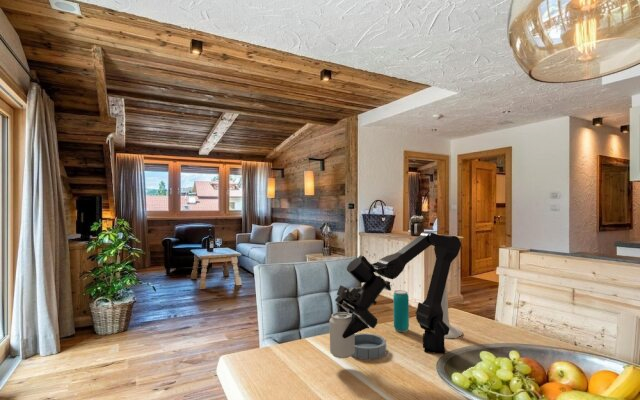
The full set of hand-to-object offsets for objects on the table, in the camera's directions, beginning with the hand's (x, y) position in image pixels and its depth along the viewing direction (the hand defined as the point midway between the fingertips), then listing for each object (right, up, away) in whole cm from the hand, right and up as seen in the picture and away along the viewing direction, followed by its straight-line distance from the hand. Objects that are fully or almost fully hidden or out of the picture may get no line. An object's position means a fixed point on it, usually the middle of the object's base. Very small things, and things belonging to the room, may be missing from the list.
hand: (337, 332), depth 106 cm
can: (+1, -7, 0) cm, 7 cm away
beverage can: (+26, -11, +31) cm, 43 cm away
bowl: (+10, -11, +12) cm, 19 cm away
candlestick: (+42, -11, +29) cm, 52 cm away
